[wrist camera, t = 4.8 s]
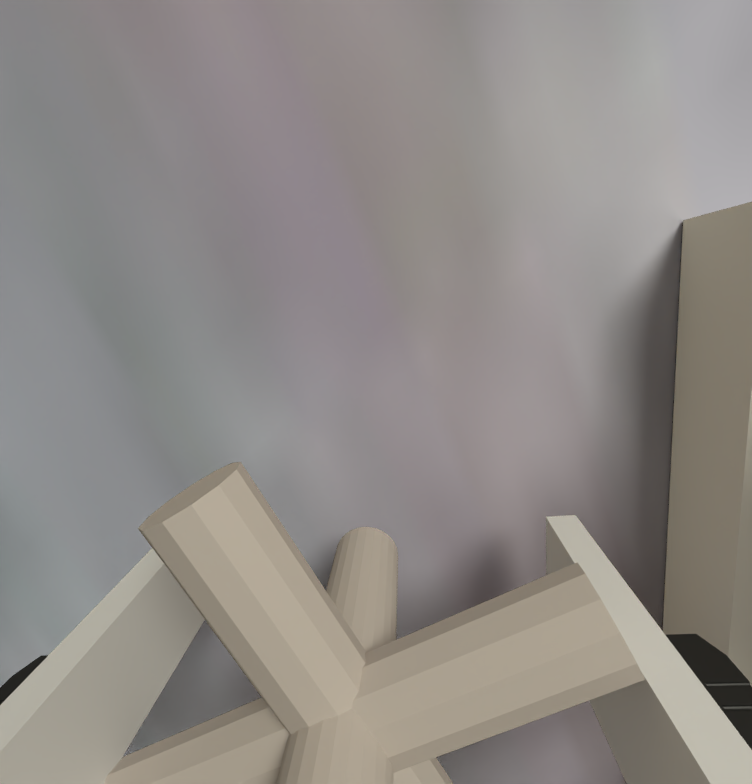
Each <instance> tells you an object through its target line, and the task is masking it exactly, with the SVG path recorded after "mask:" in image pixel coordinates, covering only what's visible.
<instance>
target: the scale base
mask: <svg viewBox="0 0 752 784" xmlns="http://www.w3.org/2000/svg"><path fill="white" fill-rule="evenodd" d="M663 633H664V634H665V635H669V634H697V635H699V636H700V637H702V638H703V639H704V640H706V641H707V642H709V643H710V644H711V645H713V646H714V647H716V648H717V649H719V650H720V651H721V652H723V653H724V654H726V655H727V656H728V657H729V659H730V660H731V661H732V662H733V663H734V664H735V665H736V667H737V668H738V669H739V670H740V671H741V672H742V673H743V675H744V676H745V677H746V678H747V679H748V680H749V681H750V685H751V687H752V202H749V203H745V204H742V205H738V206H734V207H731V208H727V209H723V210H719V211H716V212H712V213H708V214H705V215H701V216H697V217H694V218H690V219H686V220H683V235H682V255H681V275H680V295H679V315H678V335H677V355H676V375H675V395H674V415H673V435H672V455H671V475H670V495H669V515H668V535H667V555H666V575H665V595H664V615H663Z"/></svg>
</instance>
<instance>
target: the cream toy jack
mask: <svg viewBox="0 0 752 784" xmlns="http://www.w3.org/2000/svg"><path fill="white" fill-rule="evenodd" d="M138 529H139V530H140V532H141V533H142V534H143V536H144V537H145V539H146V540H147V541H148V543H149V544H150V545H151V547H152V548H153V549H154V551H155V552H156V554H157V555H158V556H159V558H160V559H161V560H162V562H163V563H164V564H165V566H166V567H167V569H168V570H169V571H170V573H171V574H172V575H173V577H174V578H175V580H176V581H177V582H178V584H179V585H180V586H181V588H182V589H183V590H184V592H185V593H186V595H187V596H188V597H189V599H190V600H191V601H192V603H193V604H194V605H195V607H196V608H197V610H198V611H199V612H200V614H201V615H202V616H203V618H204V619H205V620H206V622H207V623H208V625H209V626H210V627H211V629H212V630H213V631H214V633H215V634H216V635H217V637H218V638H219V640H220V641H221V642H222V644H223V645H224V646H225V648H226V649H227V651H228V652H229V653H230V655H231V656H232V657H233V659H234V660H235V661H236V663H237V664H238V666H239V667H240V668H241V670H242V671H243V672H244V674H245V675H246V676H247V678H248V679H249V681H250V682H251V683H252V685H253V686H254V687H255V689H256V690H257V691H258V693H259V694H260V696H261V697H262V698H259V699H257V700H255V701H252V702H250V703H248V704H245V705H243V706H241V707H238V708H236V709H234V710H231V711H229V712H227V713H224V714H222V715H220V716H217V717H215V718H213V719H210V720H208V721H206V722H203V723H201V724H199V725H196V726H194V727H192V728H189V729H187V730H185V731H182V732H180V733H178V734H175V735H173V736H171V737H168V738H166V739H164V740H161V741H159V742H157V743H154V744H152V745H150V746H147V747H145V748H143V749H140V750H138V751H136V752H133V753H131V754H129V755H126V756H124V757H123V758H122V759H121V760H120V761H119V762H118V763H117V765H116V766H115V767H114V768H113V769H112V771H111V772H110V773H109V774H108V775H107V777H106V779H105V782H104V784H453V782H452V781H451V779H450V778H449V776H448V775H447V773H446V772H445V770H444V769H443V767H442V766H441V764H440V763H439V761H438V760H437V758H436V757H438V756H441V755H443V754H446V753H449V752H452V751H454V750H457V749H460V748H462V747H465V746H468V745H470V744H473V743H476V742H478V741H481V740H484V739H487V738H489V737H492V736H495V735H497V734H500V733H503V732H505V731H508V730H511V729H513V728H516V727H519V726H522V725H524V724H527V723H530V722H532V721H535V720H538V719H540V718H543V717H546V716H548V715H551V714H554V713H557V712H559V711H562V710H565V709H567V708H570V707H573V706H575V705H578V704H581V703H583V702H586V701H589V700H592V699H594V698H597V697H600V696H602V695H605V694H608V693H610V692H613V691H616V690H618V689H621V688H624V687H627V686H629V685H632V684H635V683H637V682H640V681H643V680H645V679H644V677H643V675H642V673H641V671H640V668H639V666H638V664H637V662H636V661H635V659H634V657H633V655H632V653H631V651H630V650H629V648H628V646H627V644H626V642H625V640H624V639H623V637H622V635H621V633H620V631H619V630H618V628H617V626H616V624H615V623H614V621H613V619H612V617H611V616H610V614H609V612H608V611H607V609H606V607H605V605H604V604H603V602H602V600H601V598H600V597H599V595H598V593H597V592H596V590H595V589H594V587H593V585H592V584H591V582H590V580H589V579H588V577H587V575H586V574H585V572H584V571H583V569H582V568H581V567H580V565H579V564H578V562H577V563H574V564H572V565H570V566H567V567H565V568H563V569H560V570H558V571H556V572H553V573H551V574H549V575H546V576H544V577H542V578H539V579H537V580H535V581H532V582H530V583H528V584H525V585H523V586H521V587H518V588H516V589H514V590H511V591H509V592H507V593H504V594H502V595H500V596H497V597H495V598H493V599H490V600H488V601H486V602H483V603H481V604H479V605H476V606H474V607H472V608H469V609H467V610H465V611H462V612H460V613H458V614H455V615H453V616H451V617H448V618H446V619H444V620H441V621H439V622H437V623H434V624H432V625H430V626H427V627H425V628H423V629H420V630H418V631H416V632H413V633H411V634H409V635H406V636H404V637H402V638H399V639H397V640H396V626H397V579H398V552H397V548H396V545H395V543H394V541H393V540H392V539H391V538H390V536H388V535H387V534H386V533H384V532H383V531H381V530H378V529H376V528H371V527H360V528H356V529H353V530H351V531H349V532H348V533H346V534H345V535H344V536H343V537H342V538H341V540H340V542H339V544H338V546H337V550H336V553H335V557H334V561H333V565H332V569H331V573H330V577H329V581H328V585H327V589H326V590H325V589H324V587H323V586H322V584H321V583H320V581H319V580H318V578H317V577H316V575H315V574H314V572H313V571H312V569H311V568H310V566H309V565H308V563H307V562H306V560H305V559H304V557H303V556H302V554H301V552H300V551H299V549H298V548H297V546H296V545H295V543H294V542H293V540H292V539H291V537H290V536H289V534H288V533H287V531H286V530H285V528H284V527H283V525H282V524H281V522H280V521H279V519H278V518H277V516H276V515H275V513H274V512H273V510H272V509H271V507H270V506H269V504H268V503H267V501H266V500H265V498H264V497H263V495H262V493H261V492H260V490H259V489H258V487H257V486H256V484H255V483H254V481H253V480H252V478H251V477H250V475H249V474H248V472H247V471H246V469H245V468H244V466H243V465H242V463H241V462H236V463H231V464H229V465H227V466H225V467H223V468H221V469H218V470H216V471H214V472H213V473H211V474H209V475H208V476H206V477H204V478H203V479H201V480H199V481H198V482H196V483H194V484H192V485H191V486H189V487H188V488H187V489H185V490H184V491H182V492H181V493H179V494H178V495H176V496H175V497H173V498H172V499H171V500H169V501H168V502H166V503H165V504H164V505H163V506H161V507H160V508H159V509H158V510H156V511H155V512H154V513H153V514H151V515H150V516H149V517H148V518H147V519H146V520H145V521H144V522H143V523H142V525H141V526H140V527H139V528H138Z"/></svg>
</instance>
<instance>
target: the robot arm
mask: <svg viewBox="0 0 752 784" xmlns="http://www.w3.org/2000/svg"><path fill="white" fill-rule="evenodd" d="M577 562H578V564H579V565H580V567H581V568H582V569H583V571H584V572H585V574H586V575H587V577H588V579H589V580H590V582H591V584H592V585H593V587H594V589H595V590H596V592H597V593H598V595H599V597H600V598H601V600H602V602H603V604H604V605H605V607H606V609H607V611H608V612H609V614H610V616H611V617H612V619H613V621H614V623H615V624H616V626H617V628H618V630H619V631H620V633H621V635H622V637H623V639H624V640H625V642H626V644H627V646H628V648H629V650H630V651H631V653H632V655H633V657H634V659H635V661H636V662H637V664H638V666H639V668H640V671H641V673H642V675H643V677H644V679H645V680H643V681H640V682H637V683H635V684H632V685H629V686H627V687H624V688H621V689H618V690H616V691H613V692H610V693H608V694H605V695H602V696H600V697H597V698H594V699H592V700H589V701H590V703H591V706H592V708H593V710H594V712H595V715H596V717H597V719H598V721H599V724H600V726H601V728H602V730H603V733H604V735H605V737H606V739H607V741H608V744H609V746H610V748H611V750H612V753H613V755H614V757H615V759H616V762H617V764H618V766H619V768H620V771H621V773H622V775H623V777H624V779H625V782H626V784H752V687H751V685H750V681H749V680H748V679H747V678H746V677H745V676H744V675H743V673H742V672H741V671H740V670H739V669H738V668H737V667H736V665H735V664H734V663H733V662H732V661H731V660H730V659H729V657H728V656H727V655H726V654H724V653H723V652H721V651H720V650H719V649H717V648H716V647H714V646H713V645H711V644H710V643H709V642H707V641H706V640H704V639H703V638H702V637H700V636H699V635H697V634H669V635H665V634H664V633H663V631H662V630H661V629H660V627H659V626H658V625H657V623H656V622H655V621H654V619H653V618H652V617H651V615H650V614H649V613H648V611H647V610H646V609H645V607H644V606H643V605H642V603H641V602H640V601H639V599H638V598H637V597H636V595H635V594H634V593H633V591H632V590H631V589H630V587H629V586H628V585H627V583H626V582H625V581H624V579H623V578H622V577H621V575H620V574H619V573H618V571H617V570H616V569H615V567H614V566H613V565H612V563H611V562H610V561H609V559H608V558H607V557H606V555H605V554H604V553H603V551H602V550H601V549H600V547H599V546H598V545H597V543H596V542H595V541H594V539H593V538H592V537H591V535H590V534H589V533H588V531H587V530H586V529H585V527H584V526H583V525H582V523H581V522H580V521H579V519H578V518H577V517H576V515H570V516H551V517H546V575H549V574H551V573H553V572H556V571H558V570H560V569H563V568H565V567H567V566H570V565H572V564H574V563H577ZM204 620H205V619H204V618H203V616H202V615H201V614H200V612H199V611H198V610H197V608H196V607H195V605H194V604H193V603H192V601H191V600H190V599H189V597H188V596H187V595H186V593H185V592H184V590H183V589H182V588H181V586H180V585H179V584H178V582H177V581H176V580H175V578H174V577H173V575H172V574H171V573H170V571H169V570H168V569H167V567H166V566H165V564H164V563H163V562H162V560H161V559H160V558H159V556H158V555H157V554H156V552H155V551H154V549H153V548H152V549H151V550H150V551H149V552H148V553H147V554H146V555H145V556H144V557H143V558H142V559H141V560H140V561H139V562H138V563H137V564H136V565H135V566H134V567H133V569H132V570H131V571H130V572H129V573H128V574H127V575H126V576H125V577H124V578H123V579H122V580H121V581H120V582H119V583H118V584H117V585H116V586H115V587H114V588H113V589H112V590H111V591H110V592H109V593H108V594H107V595H106V596H105V597H104V598H103V600H102V601H101V602H100V603H99V604H98V605H97V606H96V607H95V608H94V609H93V610H92V611H91V612H90V613H89V614H88V615H87V616H86V617H85V618H84V619H83V620H82V621H81V622H80V623H79V624H78V625H77V626H76V627H75V628H74V630H73V631H72V632H71V633H70V634H69V635H68V636H67V637H66V638H65V639H64V640H63V641H62V642H61V643H60V644H59V645H58V646H57V647H56V648H55V649H54V650H53V651H52V652H51V653H50V654H49V655H48V656H40V657H39V658H37V659H36V660H34V661H33V662H32V663H30V664H29V665H27V666H26V667H24V668H23V669H22V670H20V671H19V672H17V673H16V674H15V675H13V676H12V677H11V678H10V679H9V680H8V681H7V682H6V683H5V684H4V685H3V686H2V687H1V688H0V784H104V782H105V779H106V777H107V775H108V774H109V773H110V772H111V771H112V769H113V768H114V767H115V766H116V765H117V763H118V762H119V761H120V760H121V759H122V757H123V755H124V754H125V752H126V750H127V749H128V747H129V745H130V744H131V742H132V740H133V739H134V737H135V735H136V734H137V732H138V730H139V729H140V727H141V725H142V724H143V722H144V720H145V719H146V717H147V715H148V714H149V712H150V710H151V709H152V707H153V705H154V704H155V702H156V700H157V699H158V697H159V695H160V694H161V692H162V690H163V689H164V687H165V685H166V684H167V682H168V680H169V679H170V677H171V675H172V674H173V672H174V670H175V669H176V667H177V665H178V664H179V662H180V660H181V659H182V657H183V655H184V654H185V652H186V650H187V649H188V647H189V645H190V644H191V642H192V640H193V639H194V637H195V635H196V634H197V632H198V630H199V629H200V627H201V625H202V624H203V622H204Z"/></svg>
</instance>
